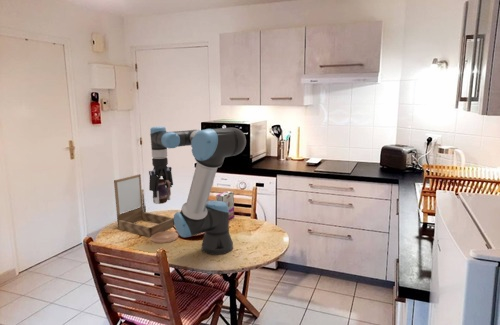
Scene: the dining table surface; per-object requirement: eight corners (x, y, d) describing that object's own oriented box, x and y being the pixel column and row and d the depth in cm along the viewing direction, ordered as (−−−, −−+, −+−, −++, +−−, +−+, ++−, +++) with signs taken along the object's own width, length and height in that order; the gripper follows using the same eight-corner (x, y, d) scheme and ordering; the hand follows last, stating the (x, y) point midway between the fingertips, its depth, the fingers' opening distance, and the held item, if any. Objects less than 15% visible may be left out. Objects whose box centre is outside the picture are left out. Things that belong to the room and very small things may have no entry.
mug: (150, 203, 180) (148, 180, 178) (159, 199, 187) (158, 177, 185) (166, 205, 176) (164, 182, 174) (175, 201, 182) (173, 179, 180)
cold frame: (174, 226, 201) (172, 194, 197) (150, 237, 186) (148, 202, 182) (142, 219, 214) (140, 189, 211) (117, 228, 199) (115, 196, 195)
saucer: (183, 235, 187) (183, 233, 187) (164, 245, 175) (164, 243, 175) (164, 231, 194) (164, 229, 194) (145, 239, 182) (144, 237, 182)
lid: (142, 206, 212) (140, 174, 208) (118, 215, 197) (115, 180, 193) (141, 206, 213) (139, 174, 209) (116, 215, 197) (113, 180, 194)
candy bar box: (228, 216, 217) (227, 190, 214) (234, 217, 215) (234, 191, 212) (216, 221, 208) (215, 194, 205) (223, 223, 205) (222, 195, 203)
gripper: (168, 154, 187) (170, 195, 191) (139, 159, 171) (142, 205, 175) (178, 155, 184) (181, 197, 188) (150, 161, 167) (153, 207, 171)
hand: (162, 201), depth 181 cm, fingers closed on mug, 7 cm apart
